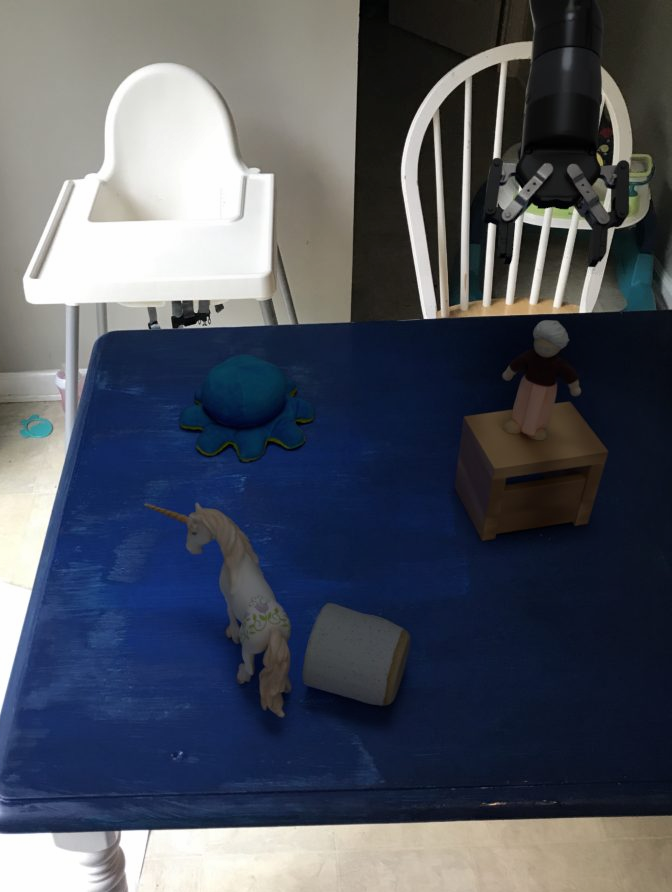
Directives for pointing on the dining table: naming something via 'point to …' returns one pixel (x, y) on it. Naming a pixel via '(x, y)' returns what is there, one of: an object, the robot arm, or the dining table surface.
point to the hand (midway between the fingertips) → (550, 263)
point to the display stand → (528, 472)
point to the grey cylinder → (356, 655)
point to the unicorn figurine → (245, 602)
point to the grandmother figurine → (540, 381)
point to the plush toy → (246, 409)
